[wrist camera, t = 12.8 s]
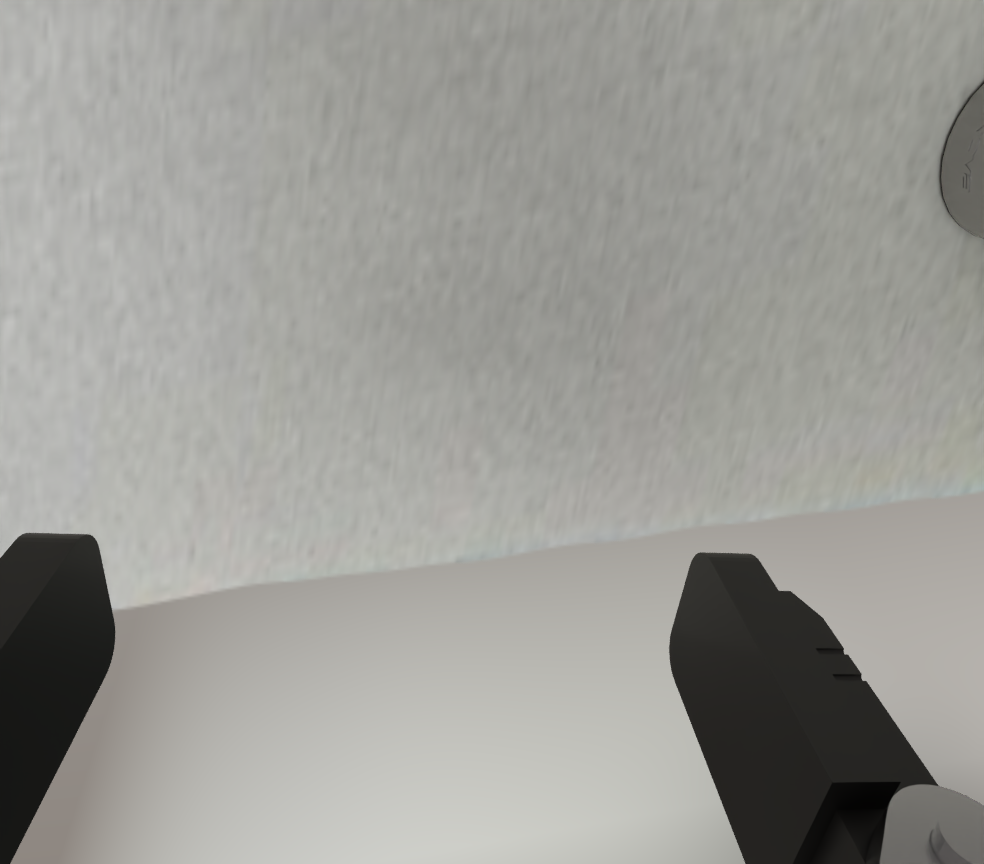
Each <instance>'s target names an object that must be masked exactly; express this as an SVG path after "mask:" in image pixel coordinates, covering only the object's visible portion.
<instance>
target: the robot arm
mask: <svg viewBox="0 0 984 864" xmlns="http://www.w3.org/2000/svg"><path fill="white" fill-rule="evenodd" d="M941 183H942V190H943V198H944V200H945V203H946V205H947V207H948V210H949V212H950V214H951V215H952V216H953V218H954V219H955V220H956V222H957V223H958V224H959V225H960V226H961V227H963V228H964V229H965V230H967V231H968V232H970V233H971V234H973V235H976V236H979V237H981V238H984V84H983V85H982V86H981V87H980V88H979V89H978V90H977V92H976V93H975V94H974V95H973V96H972V97H971V99H970V100H969V102H968V103H967V105H966V106H965V108H964V109H963V111H962V112H961V114H960V115H959V117H958V119H957V121H956V123H955V125H954V127H953V130H952V132H951V134H950V136H949V138H948V142H947V145H946V149H945V153H944V156H943V161H942V173H941ZM114 644H115V624H114V618H113V613H112V608H111V603H110V599H109V594H108V589H107V584H106V579H105V574H104V569H103V564H102V560H101V555H100V550H99V546H98V543H97V541H96V540H95V538H94V537H93V536H91V535H88V534H51V533H25V534H22V535H21V536H19V537H18V538H17V539H16V540H15V541H14V542H13V544H12V545H11V546H10V547H9V548H8V550H7V551H6V552H5V553H4V555H3V556H2V557H1V558H0V864H10V863H11V861H12V859H13V857H14V855H15V853H16V851H17V849H18V847H19V845H20V843H21V841H22V839H23V837H24V835H25V833H26V831H27V829H28V827H29V825H30V824H31V821H32V820H33V817H34V816H35V814H36V812H37V810H38V808H39V806H40V804H41V802H42V800H43V798H44V796H45V794H46V792H47V790H48V788H49V786H50V784H51V782H52V780H53V778H54V776H55V774H56V772H57V770H58V768H59V767H60V764H61V762H62V761H63V758H64V757H65V755H66V753H67V751H68V749H69V747H70V745H71V743H72V741H73V739H74V737H75V735H76V733H77V731H78V729H79V727H80V725H81V723H82V721H83V719H84V717H85V715H86V713H87V711H88V709H89V707H90V705H91V704H92V702H93V700H94V698H95V696H96V693H97V692H98V690H99V688H100V686H101V684H102V682H103V680H104V678H105V676H106V674H107V671H108V669H109V666H110V663H111V660H112V656H113V651H114ZM843 650H844V648H843V647H842V645H841V644H840V642H839V641H838V639H837V638H836V636H835V635H834V634H833V632H832V631H831V629H830V628H829V626H828V625H827V623H826V622H825V621H824V619H823V618H822V617H821V616H820V615H818V613H816V612H815V611H814V610H813V609H811V608H810V607H809V606H808V605H807V604H805V603H804V602H803V601H802V600H800V599H799V598H798V597H797V596H796V595H794V594H793V593H792V592H791V591H778V589H777V588H776V586H775V584H774V583H773V581H772V580H771V578H770V577H769V575H768V573H767V572H766V570H765V569H764V567H763V566H762V564H761V563H760V561H759V560H758V559H757V558H756V557H755V556H754V555H752V554H736V553H698V554H696V555H695V557H694V558H693V560H692V562H691V565H690V568H689V571H688V575H687V578H686V582H685V585H684V589H683V592H682V596H681V599H680V603H679V607H678V610H677V613H676V617H675V621H674V624H673V628H672V632H671V636H670V646H669V653H670V664H671V670H672V674H673V677H674V680H675V683H676V686H677V688H678V691H679V693H680V696H681V698H682V701H683V703H684V706H685V709H686V711H687V714H688V716H689V719H690V722H691V724H692V727H693V729H694V732H695V734H696V737H697V740H698V742H699V744H700V747H701V750H702V752H703V755H704V758H705V760H706V763H707V765H708V768H709V771H710V773H711V776H712V778H713V781H714V783H715V786H716V789H717V791H718V794H719V796H720V799H721V801H722V804H723V807H724V809H725V812H726V814H727V817H728V819H729V822H730V825H731V827H732V830H733V832H734V835H735V837H736V840H737V843H738V845H739V848H740V850H741V853H742V856H743V858H744V860H745V863H746V864H984V806H983V805H982V804H981V803H979V802H977V801H975V800H973V799H971V798H970V797H968V796H966V795H963V794H961V793H958V792H956V791H954V790H950V789H947V788H944V787H940V786H938V784H937V783H936V782H935V780H934V779H933V777H932V776H931V775H930V773H929V771H928V770H927V769H926V767H925V766H924V764H923V763H922V761H921V760H920V758H919V757H918V756H917V754H916V753H915V751H914V750H913V748H912V747H911V745H910V744H909V742H908V741H907V740H906V738H905V737H904V735H903V734H902V732H901V731H900V729H899V728H898V727H897V725H896V724H895V722H894V721H893V720H892V718H891V716H890V715H889V713H888V712H887V710H886V709H885V708H884V706H883V705H882V703H881V702H880V700H879V699H878V697H877V696H876V695H875V693H874V692H873V690H872V689H871V687H870V686H869V684H868V683H867V682H866V681H862V679H861V673H860V671H859V670H858V668H857V667H856V666H855V664H854V663H853V661H852V660H851V658H850V657H849V655H845V654H844V651H843Z"/></svg>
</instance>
